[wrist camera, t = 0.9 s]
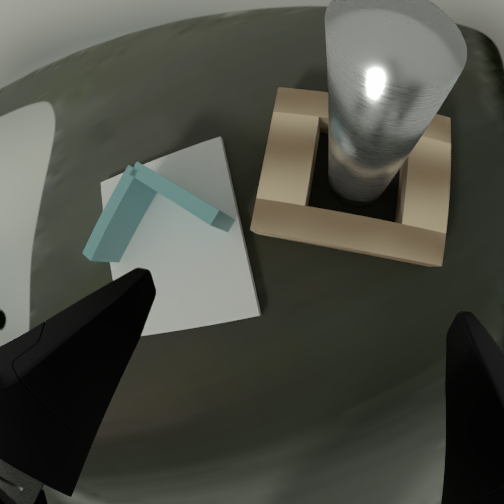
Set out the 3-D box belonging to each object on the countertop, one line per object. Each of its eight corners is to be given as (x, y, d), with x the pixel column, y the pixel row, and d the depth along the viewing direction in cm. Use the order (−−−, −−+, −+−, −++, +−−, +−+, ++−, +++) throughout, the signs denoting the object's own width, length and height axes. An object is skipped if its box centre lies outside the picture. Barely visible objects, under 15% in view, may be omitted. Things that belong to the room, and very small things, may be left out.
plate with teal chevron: (261, 314, 22) (247, 323, 18) (128, 337, 24) (97, 346, 20) (222, 139, 23) (203, 115, 19) (104, 184, 25) (74, 172, 21)
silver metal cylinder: (394, 194, 20) (492, 72, 6) (342, 215, 21) (373, 104, 6) (369, 143, 21) (412, -21, 6) (318, 163, 21) (299, 0, 7)
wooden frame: (429, 266, 19) (441, 266, 17) (258, 234, 22) (250, 229, 20) (439, 132, 20) (450, 117, 17) (283, 104, 22) (278, 87, 20)
